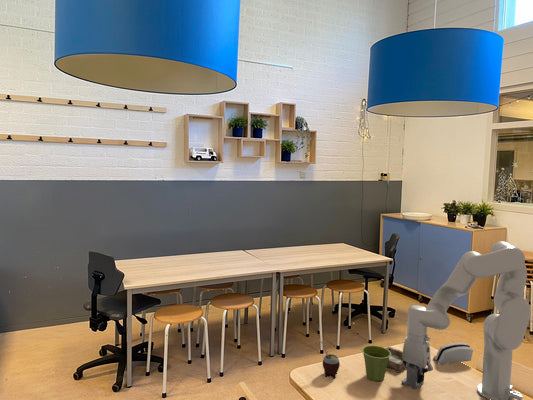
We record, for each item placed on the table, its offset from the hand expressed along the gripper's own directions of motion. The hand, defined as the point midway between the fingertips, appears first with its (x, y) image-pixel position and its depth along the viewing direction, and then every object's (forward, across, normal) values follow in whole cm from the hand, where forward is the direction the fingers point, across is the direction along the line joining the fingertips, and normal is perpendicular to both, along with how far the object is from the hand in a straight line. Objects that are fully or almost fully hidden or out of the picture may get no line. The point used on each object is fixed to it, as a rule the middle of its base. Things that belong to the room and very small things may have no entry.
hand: (415, 379), depth 163 cm
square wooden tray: (+2, +15, -10) cm, 18 cm away
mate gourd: (+2, +28, +20) cm, 34 cm away
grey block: (+2, 0, 0) cm, 2 cm away
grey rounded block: (+2, -3, -32) cm, 32 cm away
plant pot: (+2, +14, +7) cm, 16 cm away
